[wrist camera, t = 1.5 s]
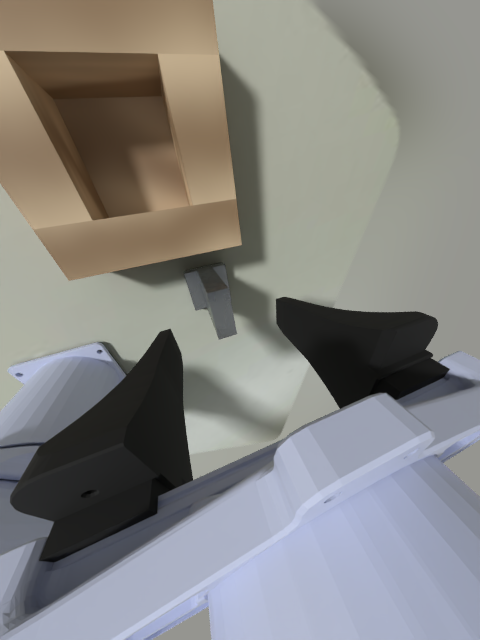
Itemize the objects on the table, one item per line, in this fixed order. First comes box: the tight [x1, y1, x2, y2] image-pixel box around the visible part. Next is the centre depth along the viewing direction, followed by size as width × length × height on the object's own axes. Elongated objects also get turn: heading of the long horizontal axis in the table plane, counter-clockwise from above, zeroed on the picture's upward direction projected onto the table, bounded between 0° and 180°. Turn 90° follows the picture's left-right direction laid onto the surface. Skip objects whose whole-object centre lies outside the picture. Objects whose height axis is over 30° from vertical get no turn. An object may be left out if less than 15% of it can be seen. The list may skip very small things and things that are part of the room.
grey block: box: [184, 262, 237, 339], centre depth 16 cm, size 4×4×7 cm
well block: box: [0, 0, 242, 281], centre depth 11 cm, size 12×12×4 cm
